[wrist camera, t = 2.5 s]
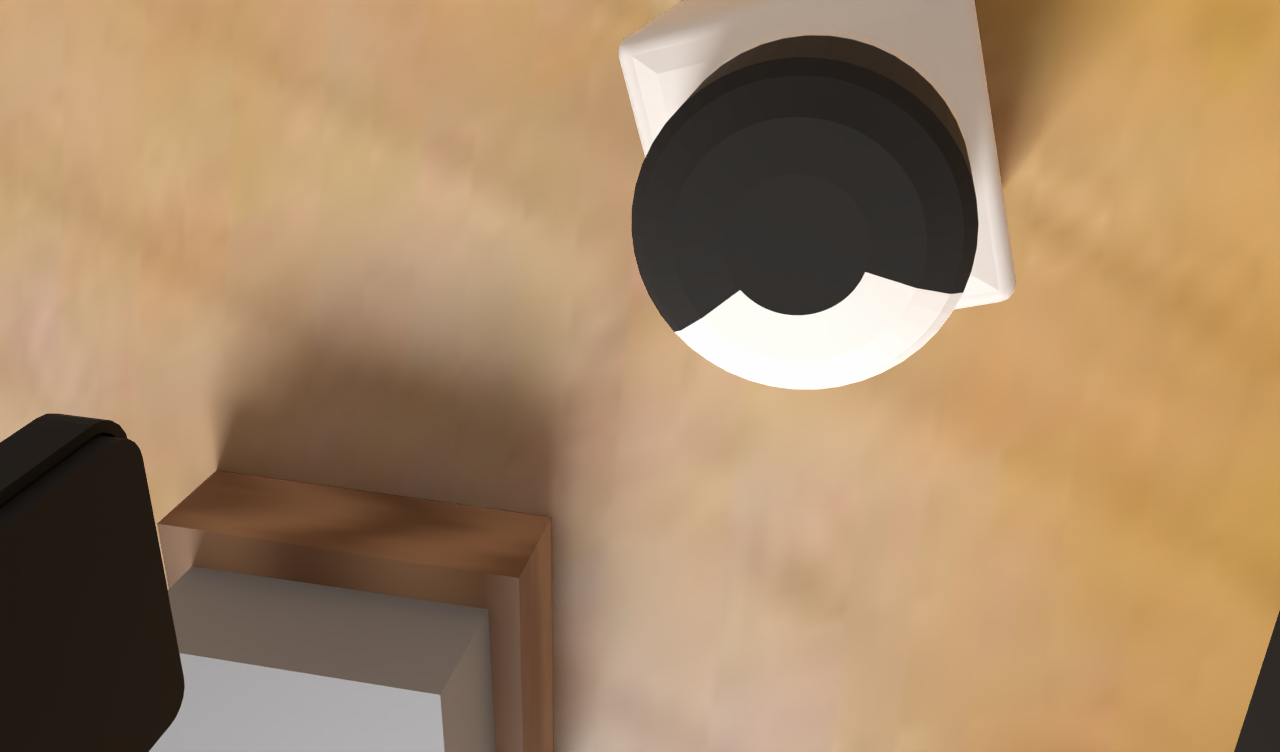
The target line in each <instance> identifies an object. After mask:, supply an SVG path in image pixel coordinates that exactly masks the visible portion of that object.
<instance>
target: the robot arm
mask: <svg viewBox="0 0 1280 752" xmlns="http://www.w3.org/2000/svg"><path fill="white" fill-rule="evenodd" d="M184 689H185V684H184V675H183V670H182V664H181V659H180V654H179V648H178V643H177V638H176V632H175V627H174V622H173V616H172V611H171V606H170V600H169V595H168V590H167V585H166V579H165V574H164V569H163V563H162V558H161V553H160V547H159V542H158V537H157V531H156V526H155V521H154V515H153V510H152V505H151V499H150V494H149V489H148V484H147V478H146V473H145V468H144V462H143V457H142V454H141V451H140V449H139V447H138V446H137V445H136V443H135V442H133V441H131V440H129V439H127V436H126V433H125V432H124V431H123V429H122V428H121V427H120V425H118V424H116V423H115V422H113V421H110V420H103V419H95V418H87V417H79V416H72V415H64V414H45V415H43V416H41V417H39V418H36V419H35V420H33V421H32V422H30V423H29V424H28V425H26V426H25V427H23V428H22V429H20V430H19V431H17V432H16V433H14V434H13V435H11V436H10V437H8V438H7V439H5V440H4V441H2V442H1V443H0V752H149V751H150V749H151V748H152V747H153V746H154V745H155V743H156V742H157V741H158V740H159V739H160V737H161V736H162V735H163V734H164V733H165V731H166V730H167V729H168V728H169V727H170V725H171V724H172V722H173V721H174V719H175V718H176V716H177V714H178V712H179V710H180V707H181V704H182V700H183V697H184ZM1234 752H1280V612H1279V615H1278V618H1277V621H1276V624H1275V627H1274V630H1273V633H1272V636H1271V639H1270V643H1269V646H1268V649H1267V652H1266V655H1265V658H1264V661H1263V664H1262V667H1261V670H1260V673H1259V677H1258V680H1257V683H1256V686H1255V689H1254V692H1253V695H1252V698H1251V701H1250V704H1249V708H1248V711H1247V714H1246V717H1245V720H1244V723H1243V726H1242V729H1241V732H1240V735H1239V739H1238V742H1237V745H1236V748H1235V751H1234Z"/></svg>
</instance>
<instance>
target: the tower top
mask: <svg viewBox="0 0 1280 752" xmlns="http://www.w3.org/2000/svg"><path fill="white" fill-rule="evenodd" d="M168 595H169V600H170V606H171V611H172V616H173V622H174V627H175V632H176V638H177V643H178V648H179V654H180V659H181V664H182V670H183V675H184V684H185V689H184V697H183V700H182V704H181V707H180V710H179V712H178V714H177V716H176V718H175V719H174V721H173V722H172V724H171V725H170V727H169V728H168V729H167V730H166V731H165V733H164V734H163V735H162V736H161V737H160V739H159V740H158V741H157V742H156V743H155V745H154V746H153V747H152V748H151V749H150V751H149V752H496V749H495V730H494V711H493V692H492V672H491V653H490V634H489V615H488V609H483V608H476V607H470V606H463V605H456V604H449V603H442V602H435V601H428V600H421V599H414V598H407V597H401V596H394V595H387V594H380V593H373V592H366V591H359V590H352V589H345V588H338V587H331V586H325V585H318V584H311V583H304V582H297V581H290V580H283V579H276V578H269V577H262V576H256V575H249V574H242V573H235V572H228V571H221V570H214V569H207V568H200V567H193V566H192V567H191V568H190V569H189V570H188V571H187V572H186V573H185V574H184V575H183V576H182V577H181V578H180V579H179V580H178V581H177V582H176V583H175V584H174V585H173V586H172V587H171V588H170V589H169V590H168Z"/></svg>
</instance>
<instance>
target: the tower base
mask: <svg viewBox="0 0 1280 752" xmlns="http://www.w3.org/2000/svg"><path fill="white" fill-rule="evenodd" d="M157 525H158V531H159V536H160V542H161V547H162V553H163V558H164V564H165V569H166V575H167V581H168V586H169V589H170V588H171V587H172V586H173V585H174V584H175V583H176V582H177V581H178V580H179V579H180V578H181V577H182V576H183V575H184V574H185V573H186V572H187V571H188V570H189V569H190V568H191V567H192V566H193V567H200V568H207V569H214V570H221V571H228V572H235V573H242V574H249V575H256V576H262V577H269V578H276V579H283V580H290V581H297V582H304V583H311V584H318V585H325V586H331V587H338V588H345V589H352V590H359V591H366V592H373V593H380V594H387V595H394V596H401V597H407V598H414V599H421V600H428V601H435V602H442V603H449V604H456V605H463V606H470V607H476V608H483V609H488V615H489V634H490V653H491V672H492V692H493V711H494V730H495V749H496V752H554V727H553V611H552V517H547V516H540V515H533V514H525V513H518V512H511V511H504V510H497V509H489V508H482V507H475V506H468V505H461V504H453V503H446V502H439V501H432V500H425V499H418V498H410V497H403V496H396V495H389V494H382V493H374V492H367V491H360V490H353V489H346V488H339V487H331V486H324V485H317V484H310V483H303V482H295V481H288V480H281V479H274V478H267V477H259V476H252V475H245V474H238V473H231V472H224V471H216V472H214V473H213V474H212V475H211V476H210V477H209V478H208V479H207V480H205V481H204V482H203V483H202V484H201V485H200V486H199V487H198V488H197V489H195V490H194V491H193V492H192V493H191V494H190V495H189V496H188V497H186V498H185V499H184V500H183V501H182V502H181V503H180V504H179V505H178V506H176V507H175V508H174V509H173V510H172V511H171V512H170V513H169V514H167V515H166V516H165V517H164V518H163V519H162V520H161V521H160V522H159V523H157Z"/></svg>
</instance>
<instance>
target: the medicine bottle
mask: <svg viewBox="0 0 1280 752" xmlns="http://www.w3.org/2000/svg"><path fill="white" fill-rule="evenodd" d="M619 59H620V63H621V67H622V70H623V74H624V78H625V82H626V86H627V90H628V93H629V97H630V101H631V105H632V109H633V113H634V116H635V120H636V124H637V128H638V132H639V136H640V139H641V143H642V147H643V151H644V155H645V160H644V162H643V164H642V167H641V170H640V173H639V177H638V180H637V183H636V186H635V193H634V199H633V205H632V237H633V245H634V253H635V257H636V261H637V264H638V268H639V272H640V275H641V277H642V280H643V282H644V285H645V287H646V289H647V292H648V294H649V296H650V298H651V299H652V301H653V303H654V304H655V306H656V308H657V309H658V311H659V313H660V314H661V316H662V317H663V318H664V319H665V321H666V322H667V323H668V324H669V326H670V327H671V328H672V330H673V331H674V332H675V333H676V334H677V335H678V336H679V337H680V338H681V339H682V340H683V341H684V342H685V343H686V344H687V345H688V346H689V347H691V348H692V349H693V350H695V351H696V352H697V353H699V354H700V355H701V356H703V357H704V358H705V359H707V360H708V361H710V362H711V363H713V364H715V365H717V366H719V367H720V368H722V369H724V370H726V371H727V372H730V373H732V374H735V375H737V376H740V377H742V378H744V379H747V380H750V381H754V382H757V383H761V384H765V385H768V386H774V387H781V388H788V389H823V388H832V387H839V386H843V385H847V384H851V383H855V382H859V381H863V380H865V379H868V378H870V377H873V376H875V375H878V374H880V373H883V372H885V371H886V370H888V369H890V368H892V367H894V366H895V365H897V364H899V363H901V362H903V361H904V360H905V359H907V358H908V357H909V356H911V355H912V354H913V353H915V352H916V351H917V350H919V349H920V348H921V347H922V346H923V345H924V344H925V343H926V342H927V341H928V340H929V339H931V338H932V337H933V336H934V335H935V334H936V333H937V332H938V330H939V329H940V328H941V326H942V325H943V324H944V323H945V321H946V320H947V319H948V317H949V316H950V315H951V313H952V312H953V310H954V309H959V308H965V307H972V306H978V305H984V304H990V303H996V302H1001V301H1004V300H1006V299H1008V298H1009V297H1010V296H1011V295H1012V293H1013V292H1014V291H1015V286H1016V277H1015V270H1014V263H1013V256H1012V250H1011V243H1010V236H1009V229H1008V223H1007V216H1006V209H1005V203H1004V196H1003V189H1002V182H1001V176H1000V169H999V162H998V155H997V149H996V142H995V135H994V128H993V122H992V115H991V108H990V101H989V95H988V88H987V81H986V74H985V68H984V61H983V54H982V47H981V41H980V34H979V27H978V21H977V14H976V7H975V0H683V1H681V2H679V3H678V4H676V5H675V6H673V7H672V8H670V9H669V10H667V11H666V12H664V13H663V14H661V15H660V16H658V17H657V18H655V19H654V20H652V21H651V22H649V23H648V24H646V25H645V26H643V27H642V28H640V29H639V30H637V31H636V32H634V33H633V34H631V35H629V36H628V37H626V38H625V39H623V41H622V43H621V45H620V47H619Z"/></svg>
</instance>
